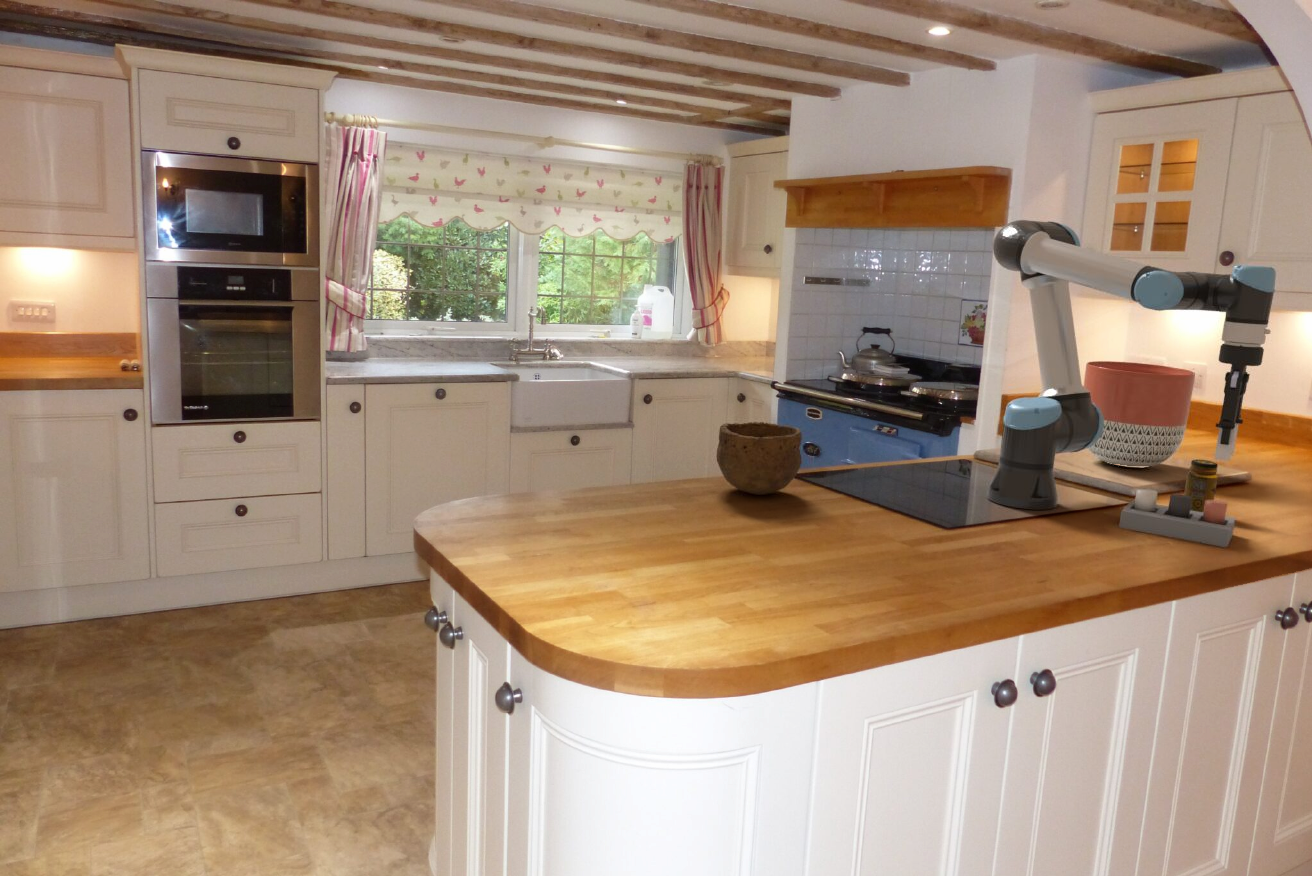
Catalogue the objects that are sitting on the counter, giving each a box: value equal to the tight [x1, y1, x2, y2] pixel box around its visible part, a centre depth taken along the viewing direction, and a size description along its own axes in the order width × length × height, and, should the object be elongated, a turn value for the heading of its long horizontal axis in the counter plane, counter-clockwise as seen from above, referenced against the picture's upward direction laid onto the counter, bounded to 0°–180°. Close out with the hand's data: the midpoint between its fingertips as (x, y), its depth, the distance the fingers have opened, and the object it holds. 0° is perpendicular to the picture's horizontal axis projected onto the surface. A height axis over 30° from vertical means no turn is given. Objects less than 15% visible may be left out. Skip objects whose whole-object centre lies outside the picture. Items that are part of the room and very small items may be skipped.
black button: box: [1168, 493, 1192, 518], centre depth 210 cm, size 4×4×4 cm
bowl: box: [716, 421, 803, 496], centre depth 224 cm, size 19×19×15 cm
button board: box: [1118, 499, 1236, 548], centre depth 211 cm, size 20×12×4 cm, turn 56°
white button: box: [1134, 487, 1158, 512], centre depth 214 cm, size 4×4×4 cm
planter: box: [1083, 360, 1196, 467], centre depth 273 cm, size 27×27×27 cm
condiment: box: [1183, 459, 1219, 512], centre depth 226 cm, size 7×8×12 cm
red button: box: [1202, 499, 1228, 524], centre depth 207 cm, size 4×4×4 cm
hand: (1223, 457), depth 204 cm, fingers open, 7 cm apart
